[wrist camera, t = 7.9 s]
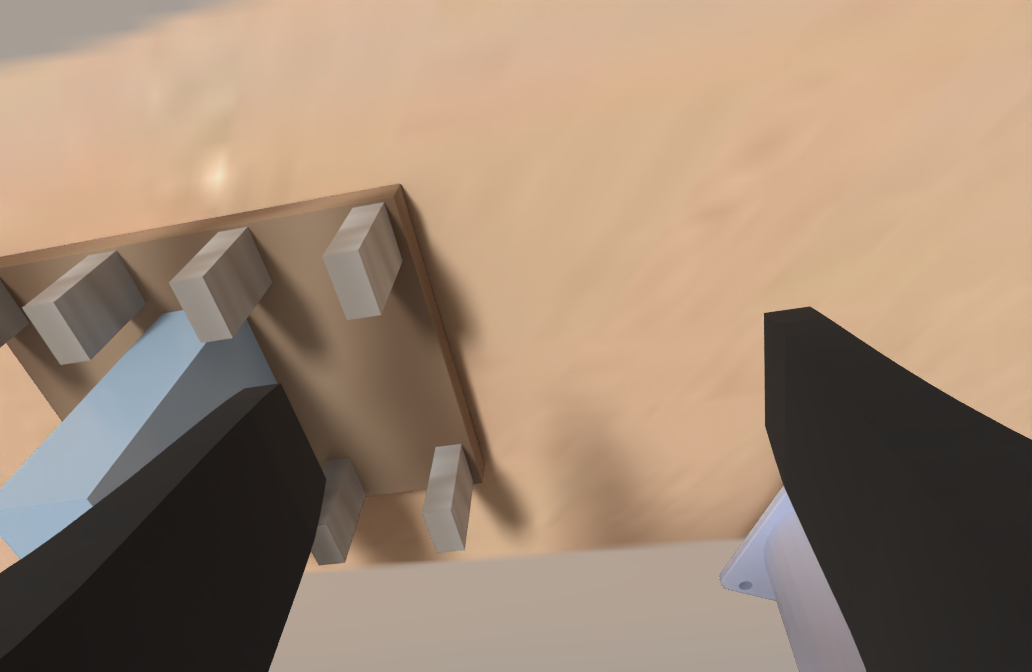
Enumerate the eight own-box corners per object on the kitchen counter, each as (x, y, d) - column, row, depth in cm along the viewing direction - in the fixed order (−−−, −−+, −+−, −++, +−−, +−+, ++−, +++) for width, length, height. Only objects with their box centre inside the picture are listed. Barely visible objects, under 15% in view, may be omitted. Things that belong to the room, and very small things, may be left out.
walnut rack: (399, 183, 19) (368, 244, 16) (484, 463, 25) (474, 551, 22) (-19, 260, 21) (-125, 329, 18) (147, 504, 27) (90, 591, 24)
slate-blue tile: (237, 300, 21) (86, 498, 14) (309, 449, 24) (213, 669, 17) (162, 313, 21) (-21, 511, 14) (242, 458, 24) (123, 676, 17)
